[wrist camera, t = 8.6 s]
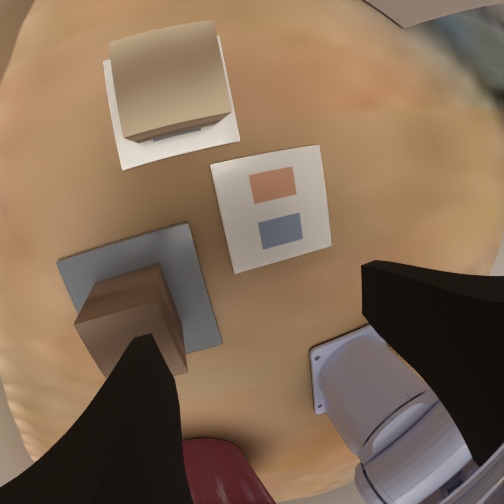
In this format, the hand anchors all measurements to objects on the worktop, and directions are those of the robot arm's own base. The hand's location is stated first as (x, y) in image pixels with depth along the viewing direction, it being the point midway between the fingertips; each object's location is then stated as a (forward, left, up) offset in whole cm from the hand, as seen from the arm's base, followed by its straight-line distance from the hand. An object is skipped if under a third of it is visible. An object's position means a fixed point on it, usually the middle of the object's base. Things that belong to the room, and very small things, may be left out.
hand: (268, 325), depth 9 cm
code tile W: (+1, -4, -10) cm, 11 cm away
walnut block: (-3, +6, -9) cm, 12 cm away
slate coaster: (-3, +6, -10) cm, 12 cm away
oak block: (+9, +1, -10) cm, 13 cm away
